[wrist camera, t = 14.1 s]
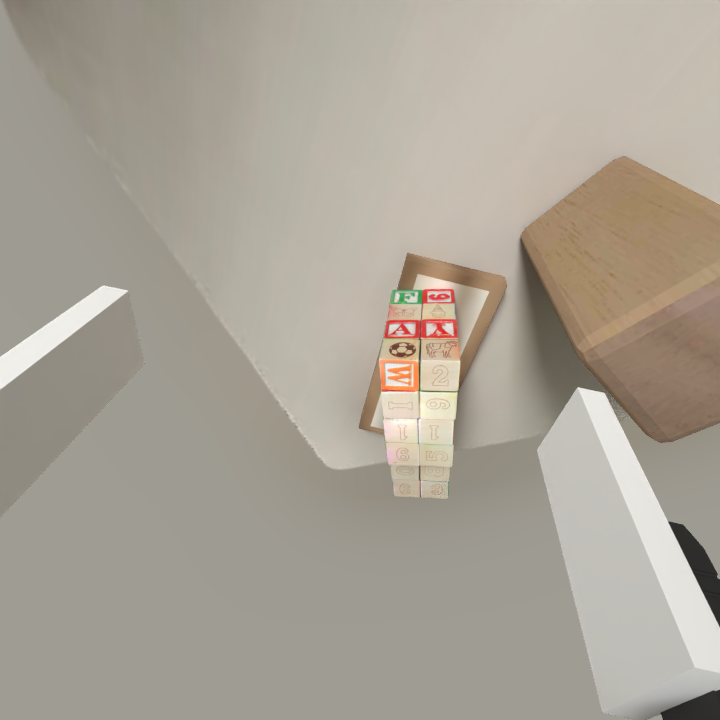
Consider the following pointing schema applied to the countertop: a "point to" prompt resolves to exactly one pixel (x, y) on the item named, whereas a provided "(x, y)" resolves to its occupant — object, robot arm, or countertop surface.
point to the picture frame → (472, 310)
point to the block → (638, 292)
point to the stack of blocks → (420, 390)
